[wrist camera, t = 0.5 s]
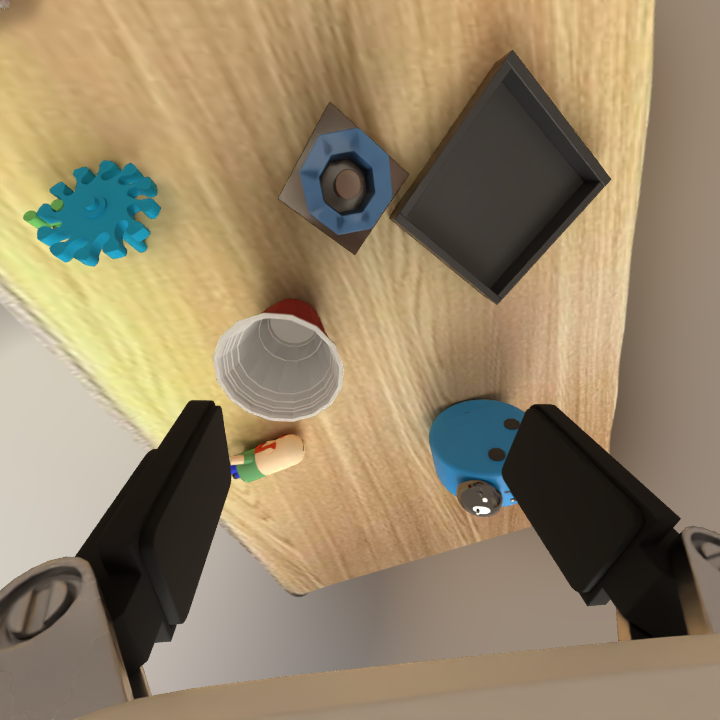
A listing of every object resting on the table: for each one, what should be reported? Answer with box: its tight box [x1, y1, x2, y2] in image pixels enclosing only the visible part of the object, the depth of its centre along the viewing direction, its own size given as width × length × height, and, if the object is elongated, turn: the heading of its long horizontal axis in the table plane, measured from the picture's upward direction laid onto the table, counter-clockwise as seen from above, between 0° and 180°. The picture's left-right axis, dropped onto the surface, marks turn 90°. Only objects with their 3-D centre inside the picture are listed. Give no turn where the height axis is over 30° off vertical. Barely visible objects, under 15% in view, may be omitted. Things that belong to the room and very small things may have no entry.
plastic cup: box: [213, 299, 344, 422], centre depth 31 cm, size 11×11×12 cm
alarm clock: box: [429, 399, 525, 517], centre depth 39 cm, size 13×6×15 cm, turn 106°
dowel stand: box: [278, 102, 409, 255], centre depth 27 cm, size 9×9×8 cm
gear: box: [23, 160, 161, 266], centre depth 27 cm, size 11×6×10 cm
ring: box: [300, 128, 393, 235], centre depth 27 cm, size 7×7×6 cm
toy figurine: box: [230, 435, 306, 482], centre depth 43 cm, size 8×4×12 cm
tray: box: [390, 50, 611, 304], centre depth 31 cm, size 15×15×3 cm
